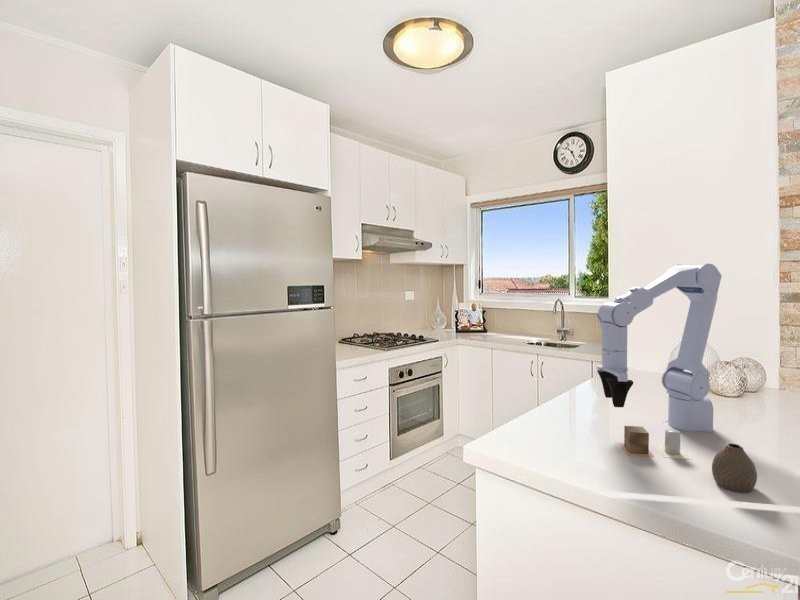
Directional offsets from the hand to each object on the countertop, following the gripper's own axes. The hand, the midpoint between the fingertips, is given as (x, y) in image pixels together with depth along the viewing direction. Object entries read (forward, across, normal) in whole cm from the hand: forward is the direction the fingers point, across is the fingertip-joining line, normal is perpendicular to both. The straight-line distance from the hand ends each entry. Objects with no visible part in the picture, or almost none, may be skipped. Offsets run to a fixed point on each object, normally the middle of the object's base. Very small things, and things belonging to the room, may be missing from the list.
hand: (614, 402), depth 107 cm
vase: (+10, +23, +15) cm, 29 cm away
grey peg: (+9, +9, +10) cm, 16 cm away
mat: (+9, +9, +6) cm, 14 cm away
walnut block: (+9, +9, +2) cm, 13 cm away
